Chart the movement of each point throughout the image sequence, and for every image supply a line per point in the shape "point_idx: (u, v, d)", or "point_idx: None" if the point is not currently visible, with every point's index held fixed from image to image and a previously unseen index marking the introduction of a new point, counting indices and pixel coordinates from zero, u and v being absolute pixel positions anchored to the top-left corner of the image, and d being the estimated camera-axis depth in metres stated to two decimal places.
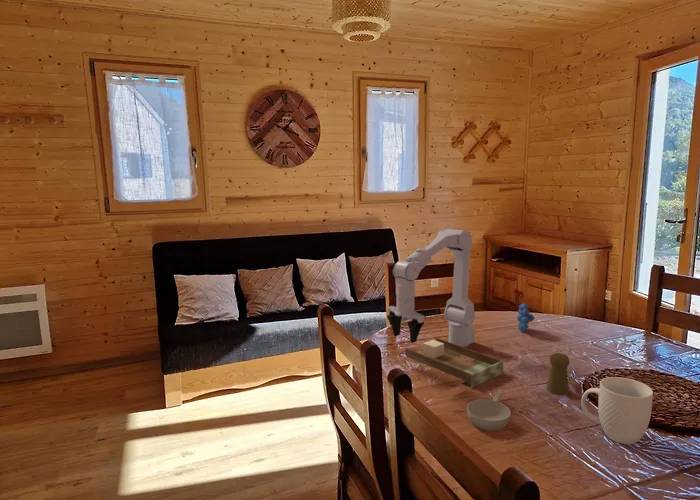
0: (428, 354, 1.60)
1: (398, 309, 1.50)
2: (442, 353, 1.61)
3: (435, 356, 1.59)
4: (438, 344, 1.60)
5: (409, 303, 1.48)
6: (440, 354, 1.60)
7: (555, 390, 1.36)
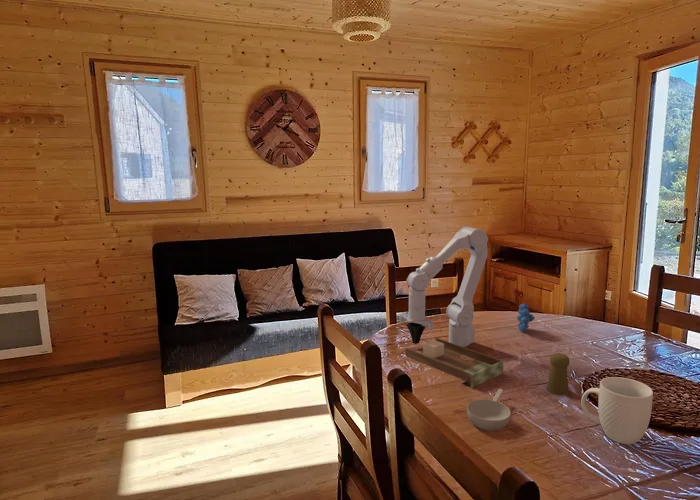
0: (428, 354, 1.60)
1: (410, 316, 1.64)
2: (442, 353, 1.61)
3: (435, 356, 1.59)
4: (438, 344, 1.60)
5: (420, 311, 1.63)
6: (440, 354, 1.60)
7: (555, 390, 1.36)
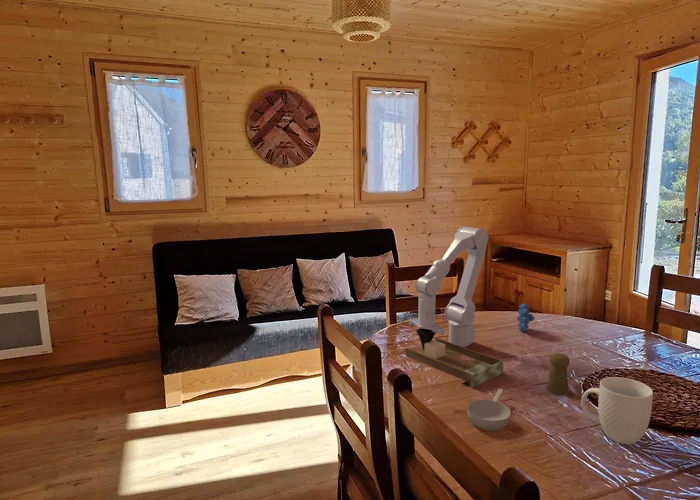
0: (429, 355, 1.60)
1: (420, 322, 1.61)
2: (443, 354, 1.60)
3: (436, 357, 1.58)
4: (439, 345, 1.59)
5: (430, 316, 1.59)
6: (441, 355, 1.60)
7: (555, 390, 1.36)
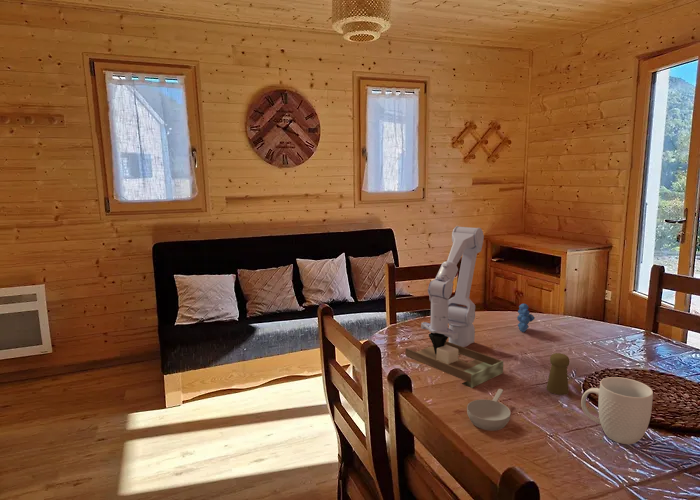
0: (442, 360, 1.55)
1: (432, 326, 1.57)
2: (456, 359, 1.56)
3: (449, 362, 1.54)
4: (452, 349, 1.55)
5: (443, 320, 1.55)
6: (454, 360, 1.55)
7: (555, 390, 1.36)
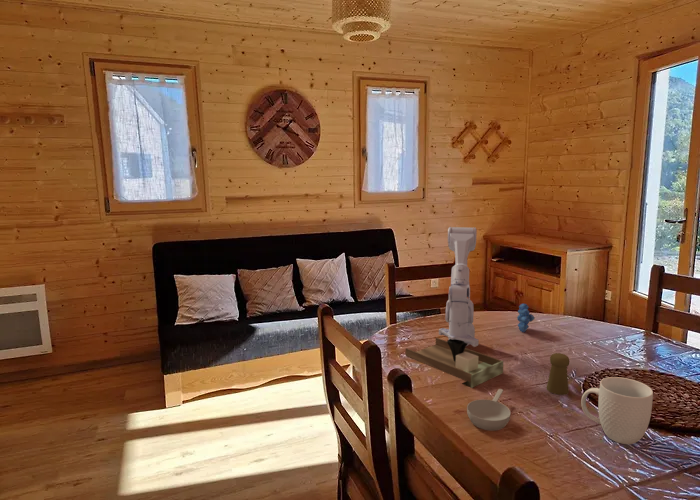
0: (461, 367, 1.49)
1: (451, 332, 1.50)
2: (476, 366, 1.50)
3: (469, 370, 1.48)
4: (472, 357, 1.49)
5: (463, 326, 1.49)
6: (474, 367, 1.49)
7: (555, 390, 1.36)
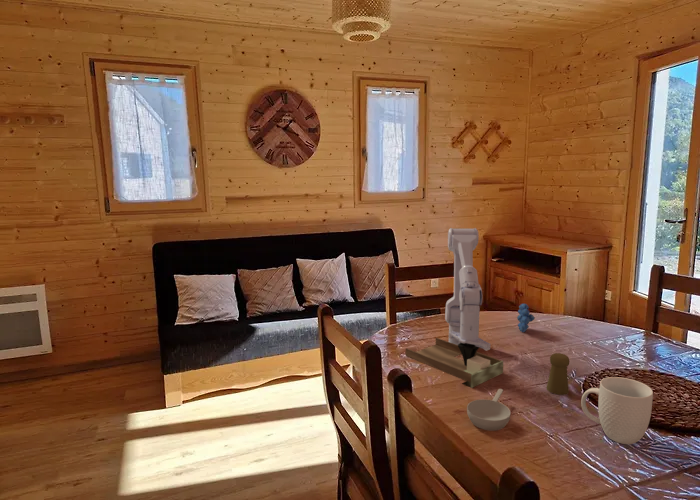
0: (473, 372, 1.46)
1: (462, 336, 1.47)
2: None
3: None
4: (484, 361, 1.46)
5: (474, 330, 1.46)
6: None
7: (555, 390, 1.36)
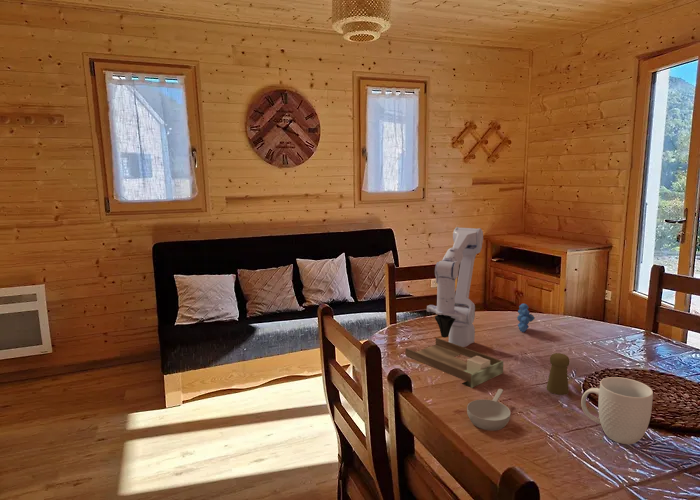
0: (473, 372, 1.46)
1: (439, 308, 1.53)
2: None
3: None
4: (484, 361, 1.46)
5: (450, 302, 1.52)
6: None
7: (555, 390, 1.36)
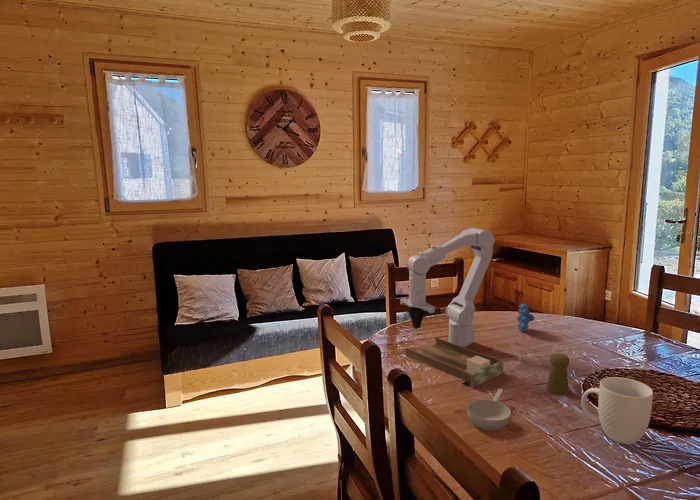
0: (473, 372, 1.46)
1: (410, 300, 1.62)
2: None
3: None
4: (484, 361, 1.46)
5: (421, 295, 1.60)
6: None
7: (555, 390, 1.36)
